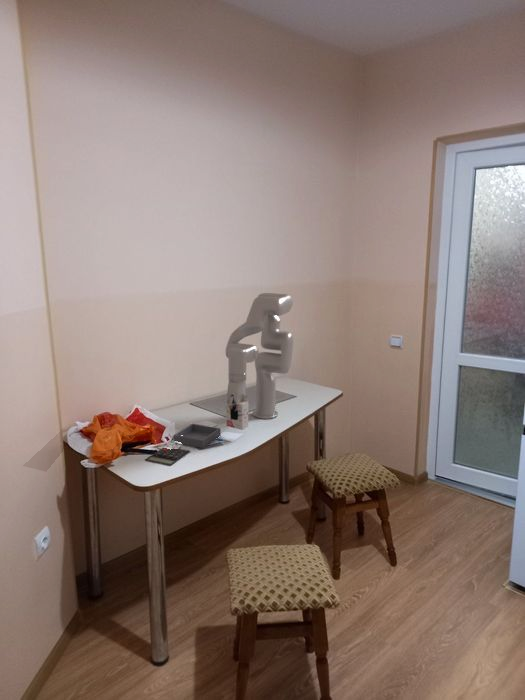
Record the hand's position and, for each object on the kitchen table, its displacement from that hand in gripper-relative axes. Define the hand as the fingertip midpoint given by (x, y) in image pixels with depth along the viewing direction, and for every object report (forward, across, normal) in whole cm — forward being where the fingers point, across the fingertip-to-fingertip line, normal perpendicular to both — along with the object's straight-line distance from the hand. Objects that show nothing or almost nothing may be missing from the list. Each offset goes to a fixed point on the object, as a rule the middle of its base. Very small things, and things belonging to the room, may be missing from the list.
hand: (237, 416), depth 219 cm
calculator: (+9, +30, -16) cm, 35 cm away
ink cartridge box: (+5, 0, 0) cm, 5 cm away
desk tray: (+9, +10, -14) cm, 20 cm away
